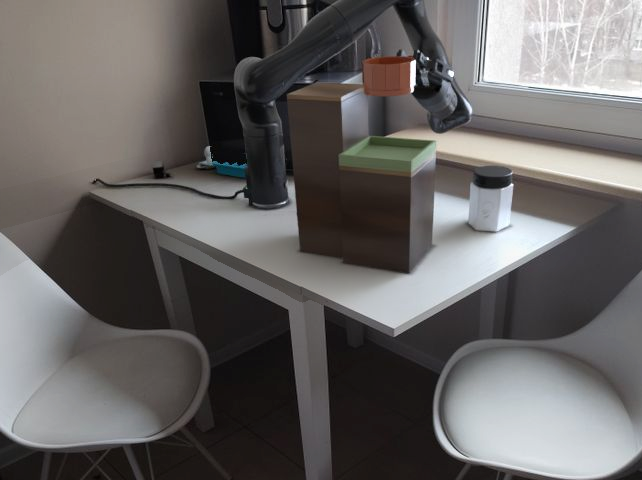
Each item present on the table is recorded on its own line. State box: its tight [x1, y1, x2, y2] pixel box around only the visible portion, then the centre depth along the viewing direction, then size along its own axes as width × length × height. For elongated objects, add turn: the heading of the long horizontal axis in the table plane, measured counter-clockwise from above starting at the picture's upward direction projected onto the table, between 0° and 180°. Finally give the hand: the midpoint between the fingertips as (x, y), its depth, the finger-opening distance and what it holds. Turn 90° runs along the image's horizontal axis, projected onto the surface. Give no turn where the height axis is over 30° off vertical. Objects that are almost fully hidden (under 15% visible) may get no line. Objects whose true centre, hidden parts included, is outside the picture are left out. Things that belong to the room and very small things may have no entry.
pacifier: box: [196, 145, 216, 170], centre depth 183 cm, size 7×6×6 cm
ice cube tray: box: [212, 161, 247, 179], centre depth 178 cm, size 12×20×3 cm, turn 58°
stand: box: [286, 81, 437, 274], centre depth 120 cm, size 14×25×31 cm, turn 64°
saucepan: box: [361, 55, 416, 97], centre depth 112 cm, size 18×9×5 cm, turn 155°
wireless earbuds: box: [152, 160, 172, 179], centre depth 179 cm, size 5×7×3 cm, turn 13°
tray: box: [339, 135, 437, 172], centre depth 116 cm, size 14×14×2 cm
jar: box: [467, 165, 514, 232], centre depth 134 cm, size 9×8×12 cm
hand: (407, 55), depth 114 cm, fingers closed on saucepan, 2 cm apart
